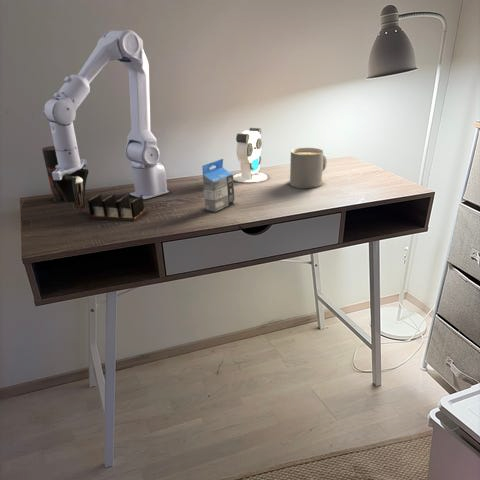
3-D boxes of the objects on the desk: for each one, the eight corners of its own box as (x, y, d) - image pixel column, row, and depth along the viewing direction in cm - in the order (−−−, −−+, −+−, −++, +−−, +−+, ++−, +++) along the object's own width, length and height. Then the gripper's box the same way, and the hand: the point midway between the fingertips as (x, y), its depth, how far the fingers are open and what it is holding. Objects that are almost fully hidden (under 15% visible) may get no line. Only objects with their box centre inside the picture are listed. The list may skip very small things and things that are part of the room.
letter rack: (90, 218, 139) (87, 200, 136) (102, 210, 145) (99, 192, 142) (134, 221, 136) (131, 202, 134) (145, 212, 142) (142, 194, 139)
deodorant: (69, 201, 153) (59, 150, 145) (50, 201, 153) (38, 150, 145) (76, 195, 158) (66, 145, 150) (57, 195, 158) (46, 145, 150)
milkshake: (79, 205, 146) (73, 170, 141) (91, 209, 143) (84, 172, 138) (66, 209, 143) (58, 173, 138) (77, 213, 140) (70, 176, 135)
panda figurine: (258, 184, 162) (257, 135, 155) (226, 181, 167) (224, 133, 159) (272, 175, 171) (272, 128, 164) (242, 172, 176) (240, 126, 168)
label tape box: (215, 212, 140) (213, 167, 134) (204, 209, 142) (201, 165, 136) (235, 203, 146) (233, 160, 140) (224, 201, 148) (222, 158, 142)
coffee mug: (301, 189, 156) (302, 156, 151) (284, 182, 163) (284, 150, 158) (336, 183, 161) (339, 150, 156) (318, 176, 169) (320, 144, 164)
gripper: (67, 142, 141) (77, 190, 148) (37, 154, 129) (49, 206, 136) (90, 143, 140) (99, 192, 147) (61, 155, 128) (72, 208, 135)
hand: (76, 199), depth 141 cm, fingers closed on milkshake, 4 cm apart
